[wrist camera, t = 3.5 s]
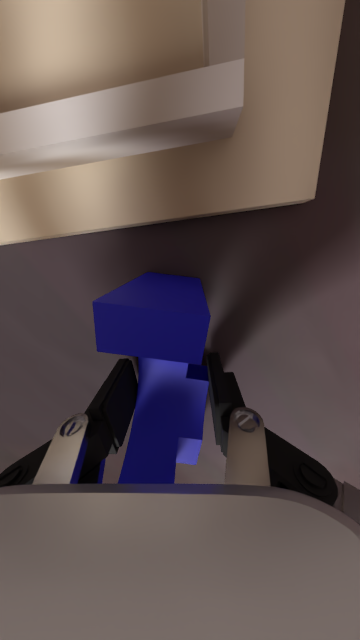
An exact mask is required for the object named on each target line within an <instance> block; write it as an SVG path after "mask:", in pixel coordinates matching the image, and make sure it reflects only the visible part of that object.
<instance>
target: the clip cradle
mask: <svg viewBox="0 0 360 640" xmlns="http://www.w3.org/2000/svg"><path fill="white" fill-rule="evenodd" d="M344 5H345V0H0V245H6V244H13V243H20V242H28V241H35V240H42V239H49V238H56V237H63V236H71V235H78V234H85V233H92V232H99V231H106V230H114V229H121V228H128V227H135V226H142V225H150V224H157V223H164V222H171V221H178V220H185V219H193V218H200V217H207V216H214V215H221V214H228V213H236V212H243V211H250V210H257V209H264V208H271V207H279V206H286V205H293V204H300V203H305V202H307V201H310V200H312V199H314V198H315V192H316V186H317V180H318V173H319V167H320V160H321V154H322V147H323V141H324V134H325V128H326V121H327V115H328V109H329V102H330V96H331V89H332V83H333V76H334V70H335V63H336V57H337V51H338V44H339V38H340V31H341V25H342V18H343V12H344Z"/></svg>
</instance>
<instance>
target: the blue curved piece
mask: <svg viewBox="0 0 360 640" xmlns="http://www.w3.org/2000/svg"><path fill="white" fill-rule="evenodd" d="M93 312H94V323H95V334H96V345H97V351H98V352H105V353H113V354H121V355H128V356H136V357H138V361H139V377H138V390H137V398H136V406H135V412H134V418H133V423H132V428H131V433H130V438H129V442H128V446H127V451H126V455H125V459H124V463H123V466H122V470H121V474H120V478H119V481H118V484H174V479H175V467H176V462H177V463H185V464H192V465H196V463H197V459H198V455H199V451H200V447H201V443H202V436H203V422H204V412H205V404H206V397H207V391H208V386H209V379H208V370H207V366H201V363H202V357H203V352H204V347H205V342H206V337H207V332H208V327H209V322H210V317H211V316H210V313H209V309H208V306H207V302H206V299H205V295H204V292H203V288H202V285H201V281H200V278H193V277H185V276H177V275H169V274H160V273H152V272H147V273H145V274H143V275H141V276H139V277H137V278H136V279H134V280H132V281H130V282H128V283H126V284H124V285H122V286H120V287H119V288H117V289H115V290H113V291H111V292H109V293H107V294H105V295H104V296H102V297H100V298H98V299H96V300H94V301H93ZM188 363H190V364H188ZM194 364H197V365H194Z"/></svg>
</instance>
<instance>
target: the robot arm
mask: <svg viewBox="0 0 360 640" xmlns="http://www.w3.org/2000/svg"><path fill="white" fill-rule="evenodd" d="M207 370H208V379H209V395H210V402H211V409H212V417H213V424H214V431H215V438H216V445H220V446H221V452H223V455H224V456H226V457H227V460H226V473H225V484H102V479H103V473H104V466H105V458H106V457H107V456H108V454H117V451H118V449H119V447H121V446H122V444H123V441H124V438H125V436H126V433H127V430H128V427H129V424H130V421H131V418H132V415H133V412H134V409H135V406H136V398H137V390H138V383H137V379H136V375H135V371H134V368H133V364H132V361H131V360H129V359H128V358H125V359H119V360H118V362H117V363H116V365H115V367H114V368H113V370H112V371H111V373H110V374H109V376H108V378H107V379H106V381H105V382H104V383H103V385H102V386H101V388H100V389H99V391H98V393H97V394H96V396H95V397H94V399H93V400H92V402H91V404H90V405H89V407H88V408H87V410H86V411H85V413H79V414H75V415H72V416H71V417H69V418H67V419H66V420H65V421H64V422H63V423H62V424H61V425H60V426H59V428H58V429H57V431H56V433H55V435H54V438H53V439H52V440H50V441H49V442H47V443H45V444H44V445H42V446H41V447H39V448H37V449H36V450H34V451H33V452H31V453H29V454H28V455H26V456H25V457H23V458H22V459H20V460H18V461H17V462H15V463H14V464H12V465H11V466H9V467H8V468H7V469H5V470H4V471H3V472H2V473H1V474H0V640H360V490H359V489H357V488H355V487H354V486H352V485H350V484H348V483H347V482H345V481H344V483H341V482H339V481H338V480H336V479H334V478H333V477H332V475H331V473H330V472H329V471H328V470H327V469H326V468H325V467H324V466H323V465H322V464H320V463H319V462H318V461H316V460H315V459H313V458H312V457H310V456H309V455H307V454H305V453H304V452H302V451H301V450H299V449H298V448H296V447H295V446H293V445H292V444H290V443H288V442H287V441H285V440H284V439H282V438H281V437H279V436H278V435H276V434H275V433H273V432H271V431H270V430H268V429H267V428H265V427H264V423H263V419H262V418H261V416H260V415H259V414H258V413H257V412H256V411H254V410H252V409H250V408H247V407H246V406H245V404H244V401H243V398H242V395H241V392H240V390H239V387H238V384H237V381H236V378H235V376H234V373H233V372H225V373H224V372H223V368H222V364H221V361H220V357H219V354H218V352H215V353H210V355H207Z"/></svg>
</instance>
